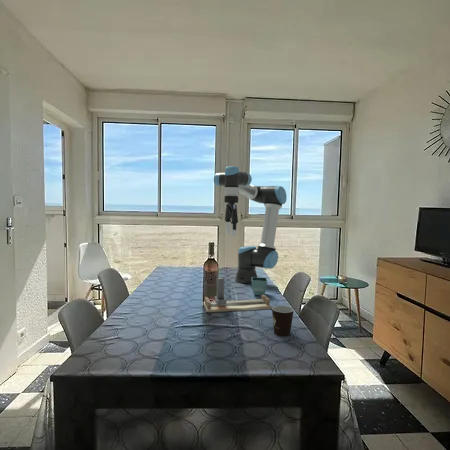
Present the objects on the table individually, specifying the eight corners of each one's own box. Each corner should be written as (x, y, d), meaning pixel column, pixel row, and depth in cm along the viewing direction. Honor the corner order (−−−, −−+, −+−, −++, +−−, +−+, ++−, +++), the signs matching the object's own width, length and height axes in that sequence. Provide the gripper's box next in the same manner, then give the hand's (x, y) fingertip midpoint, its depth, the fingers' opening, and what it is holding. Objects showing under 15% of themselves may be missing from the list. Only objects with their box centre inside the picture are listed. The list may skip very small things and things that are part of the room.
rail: (203, 304, 165) (203, 296, 164) (263, 301, 172) (263, 293, 171) (207, 312, 153) (207, 303, 153) (271, 308, 160) (271, 300, 160)
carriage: (214, 300, 163) (215, 276, 162) (223, 299, 164) (223, 276, 163) (217, 304, 156) (218, 280, 155) (226, 304, 157) (226, 279, 156)
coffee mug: (293, 338, 125) (293, 313, 124) (270, 336, 127) (271, 311, 126) (292, 327, 136) (293, 304, 135) (272, 325, 138) (272, 302, 137)
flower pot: (266, 292, 189) (266, 277, 188) (266, 297, 180) (267, 281, 179) (251, 291, 190) (251, 276, 189) (251, 296, 181) (251, 280, 180)
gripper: (219, 195, 185) (219, 232, 187) (230, 194, 161) (229, 237, 162) (232, 196, 187) (231, 232, 188) (244, 195, 163) (243, 237, 164)
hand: (230, 234), depth 175 cm, fingers open, 13 cm apart
